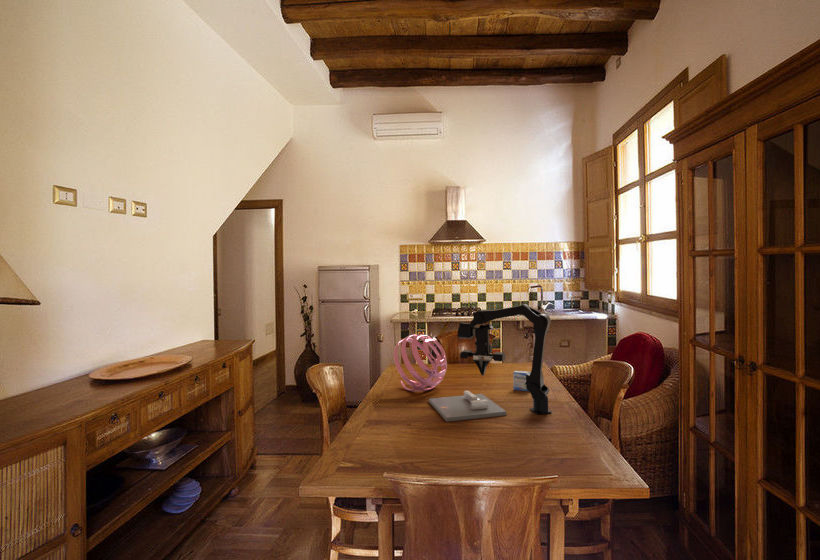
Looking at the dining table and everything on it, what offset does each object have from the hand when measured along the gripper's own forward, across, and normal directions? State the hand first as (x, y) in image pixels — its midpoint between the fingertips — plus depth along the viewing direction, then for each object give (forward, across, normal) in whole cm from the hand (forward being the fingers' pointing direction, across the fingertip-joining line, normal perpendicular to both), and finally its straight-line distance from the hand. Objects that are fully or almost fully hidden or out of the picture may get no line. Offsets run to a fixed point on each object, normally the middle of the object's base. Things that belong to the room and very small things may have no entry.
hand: (482, 375), depth 184 cm
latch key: (+11, +3, +6) cm, 12 cm away
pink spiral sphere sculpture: (+12, +34, -10) cm, 37 cm away
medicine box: (+13, -11, -28) cm, 32 cm away
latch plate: (+12, +5, +9) cm, 16 cm away
